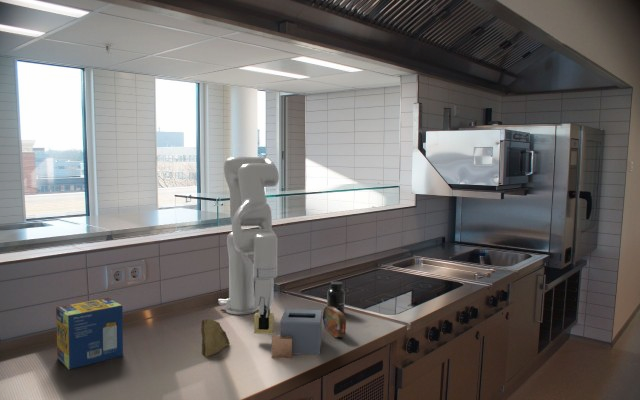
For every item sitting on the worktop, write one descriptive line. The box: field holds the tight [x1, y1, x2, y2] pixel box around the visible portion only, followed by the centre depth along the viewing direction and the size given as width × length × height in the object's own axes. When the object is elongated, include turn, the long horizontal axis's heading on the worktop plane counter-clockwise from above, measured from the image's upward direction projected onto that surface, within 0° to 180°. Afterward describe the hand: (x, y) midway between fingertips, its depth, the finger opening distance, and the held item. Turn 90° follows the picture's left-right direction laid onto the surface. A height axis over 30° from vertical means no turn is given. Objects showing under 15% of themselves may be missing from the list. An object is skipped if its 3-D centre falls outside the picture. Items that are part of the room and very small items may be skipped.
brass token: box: [253, 312, 275, 335], centre depth 154 cm, size 2×6×6 cm, turn 86°
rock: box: [200, 318, 230, 358], centre depth 147 cm, size 11×9×10 cm
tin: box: [322, 305, 347, 338], centre depth 163 cm, size 15×3×8 cm, turn 21°
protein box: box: [55, 297, 124, 370], centre depth 140 cm, size 10×15×16 cm
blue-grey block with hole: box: [279, 308, 323, 355], centre depth 151 cm, size 12×12×10 cm
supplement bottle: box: [326, 281, 346, 315], centre depth 185 cm, size 7×7×12 cm
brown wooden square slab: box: [271, 334, 293, 359], centre depth 143 cm, size 2×6×6 cm, turn 87°
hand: (264, 327), depth 154 cm, fingers closed on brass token, 2 cm apart
